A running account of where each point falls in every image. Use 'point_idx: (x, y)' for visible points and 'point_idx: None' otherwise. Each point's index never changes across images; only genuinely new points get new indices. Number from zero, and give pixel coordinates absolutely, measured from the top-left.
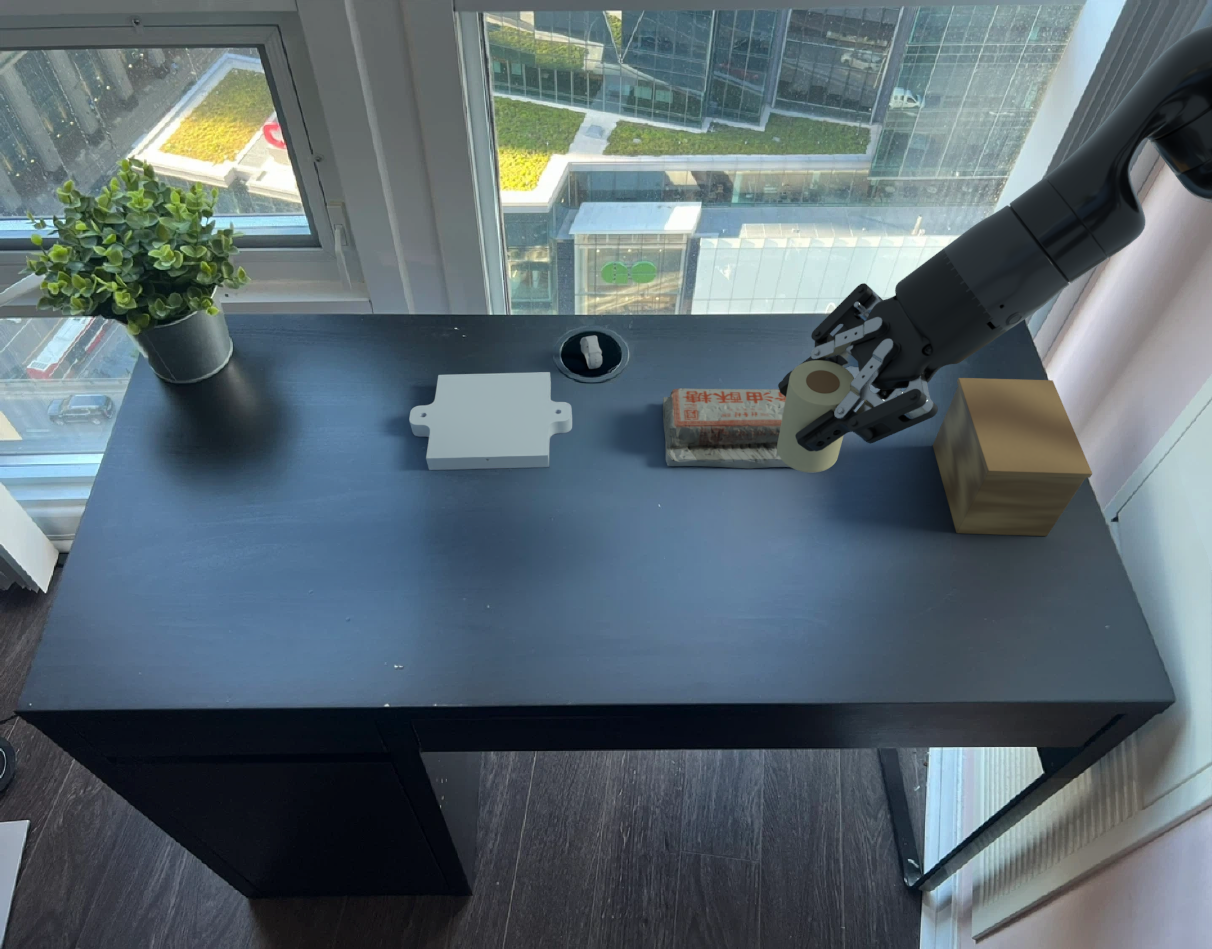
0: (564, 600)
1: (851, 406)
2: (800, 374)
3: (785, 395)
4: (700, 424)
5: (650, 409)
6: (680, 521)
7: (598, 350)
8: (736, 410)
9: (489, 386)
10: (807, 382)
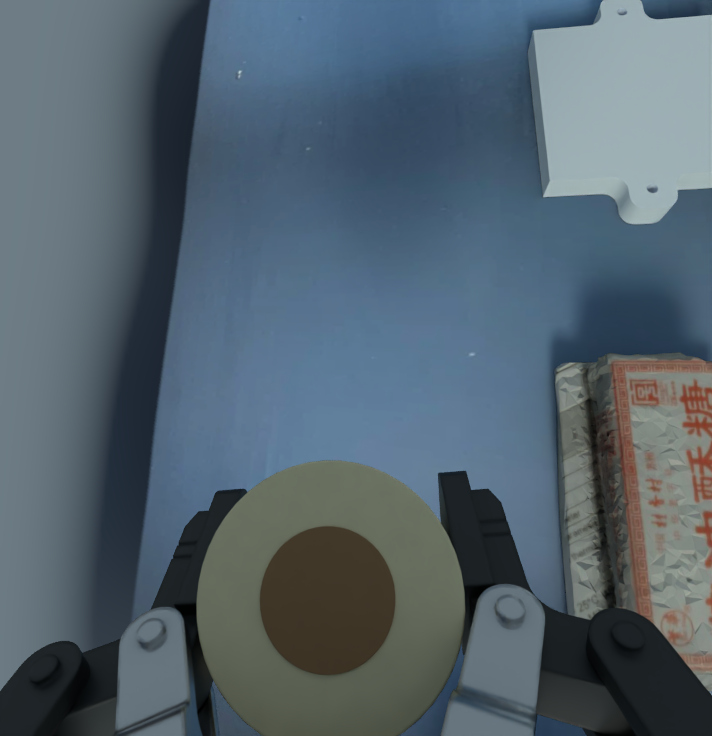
0: (310, 231)
1: (117, 682)
2: (379, 511)
3: (439, 495)
4: (619, 408)
5: (694, 347)
6: (440, 384)
7: None
8: (667, 484)
9: (700, 85)
10: (323, 529)
